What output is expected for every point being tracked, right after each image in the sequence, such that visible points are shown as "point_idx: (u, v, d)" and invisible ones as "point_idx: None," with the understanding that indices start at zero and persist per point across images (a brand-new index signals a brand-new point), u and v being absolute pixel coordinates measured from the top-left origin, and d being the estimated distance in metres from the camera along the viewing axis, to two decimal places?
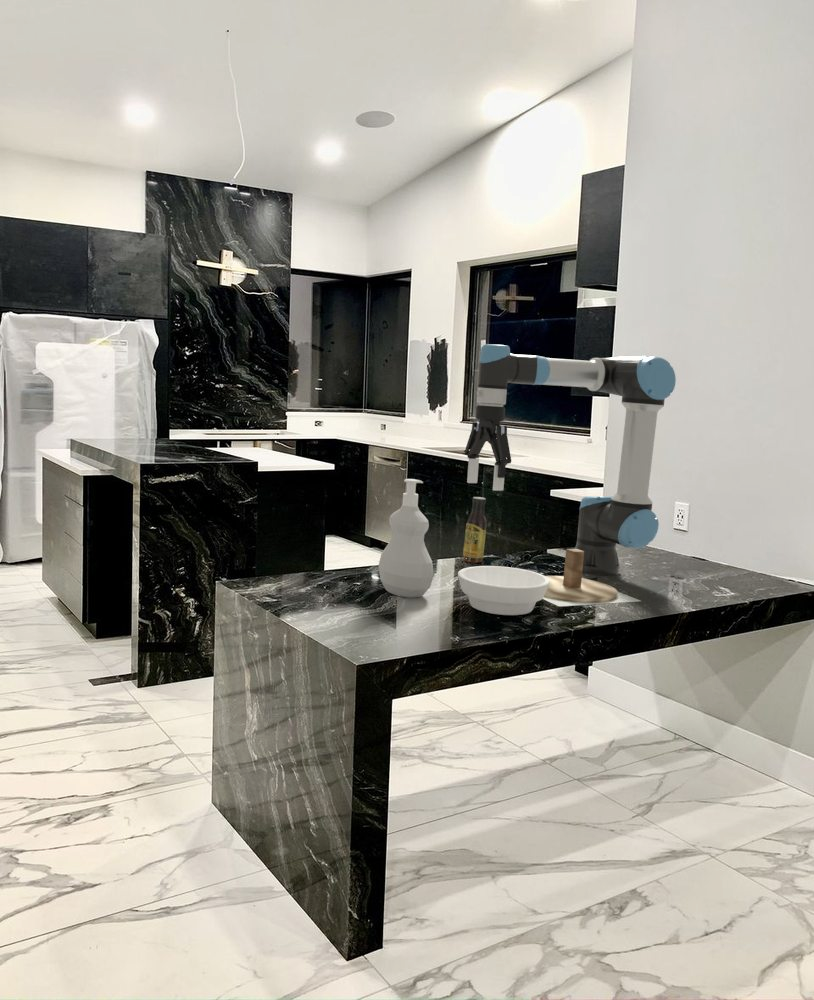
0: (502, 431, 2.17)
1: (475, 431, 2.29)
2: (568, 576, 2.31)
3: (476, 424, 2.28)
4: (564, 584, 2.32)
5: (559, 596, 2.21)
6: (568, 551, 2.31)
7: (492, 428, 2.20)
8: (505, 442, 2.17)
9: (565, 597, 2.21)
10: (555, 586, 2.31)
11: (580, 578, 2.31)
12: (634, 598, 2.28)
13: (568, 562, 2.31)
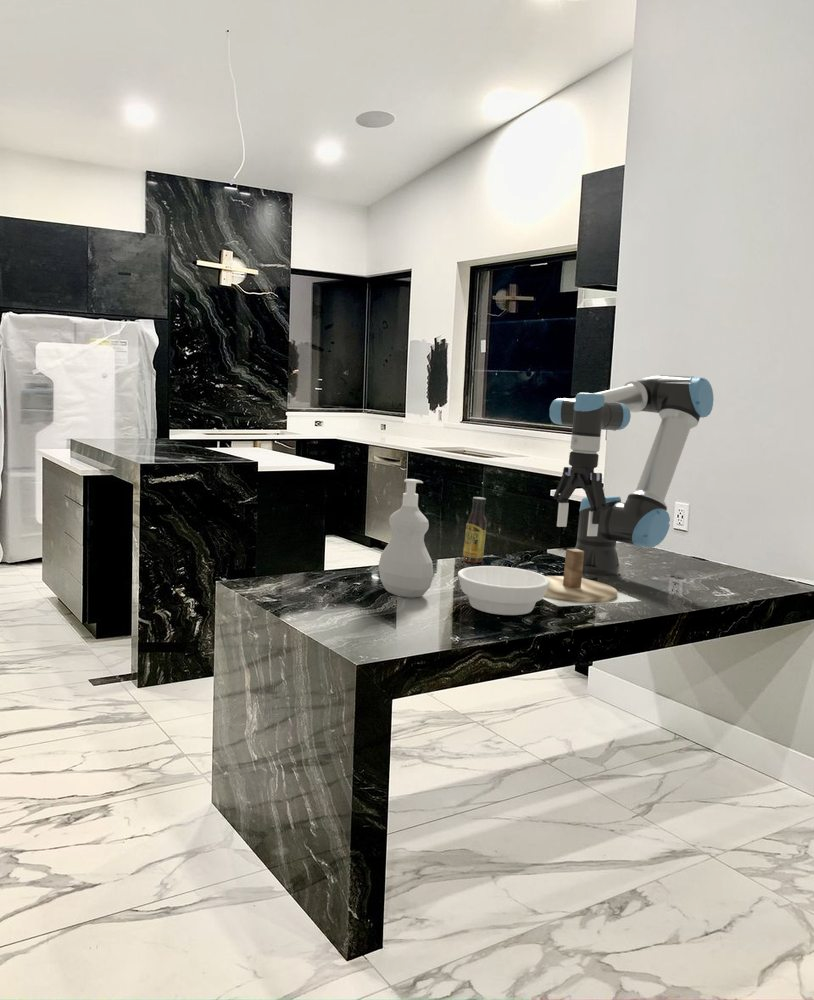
0: (597, 478, 2.22)
1: (566, 476, 2.33)
2: (568, 576, 2.31)
3: (567, 469, 2.32)
4: (564, 584, 2.32)
5: (559, 596, 2.21)
6: (568, 551, 2.31)
7: (586, 475, 2.24)
8: (600, 489, 2.21)
9: (565, 597, 2.21)
10: (555, 586, 2.31)
11: (580, 578, 2.31)
12: (634, 598, 2.28)
13: (568, 562, 2.31)
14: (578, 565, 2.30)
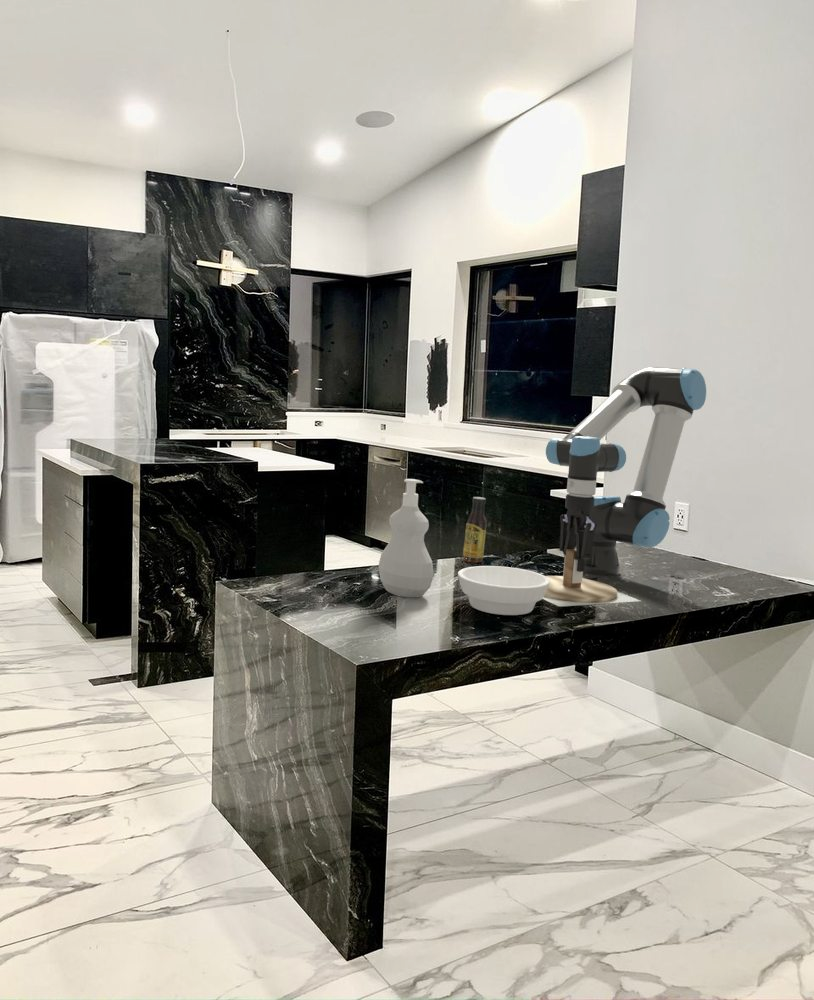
0: (591, 529, 2.24)
1: (565, 523, 2.34)
2: (568, 576, 2.31)
3: (564, 516, 2.34)
4: (564, 584, 2.32)
5: (559, 596, 2.21)
6: (568, 551, 2.31)
7: (582, 519, 2.26)
8: (590, 539, 2.25)
9: (565, 597, 2.21)
10: (555, 586, 2.31)
11: None
12: (634, 598, 2.28)
13: (568, 562, 2.31)
14: None
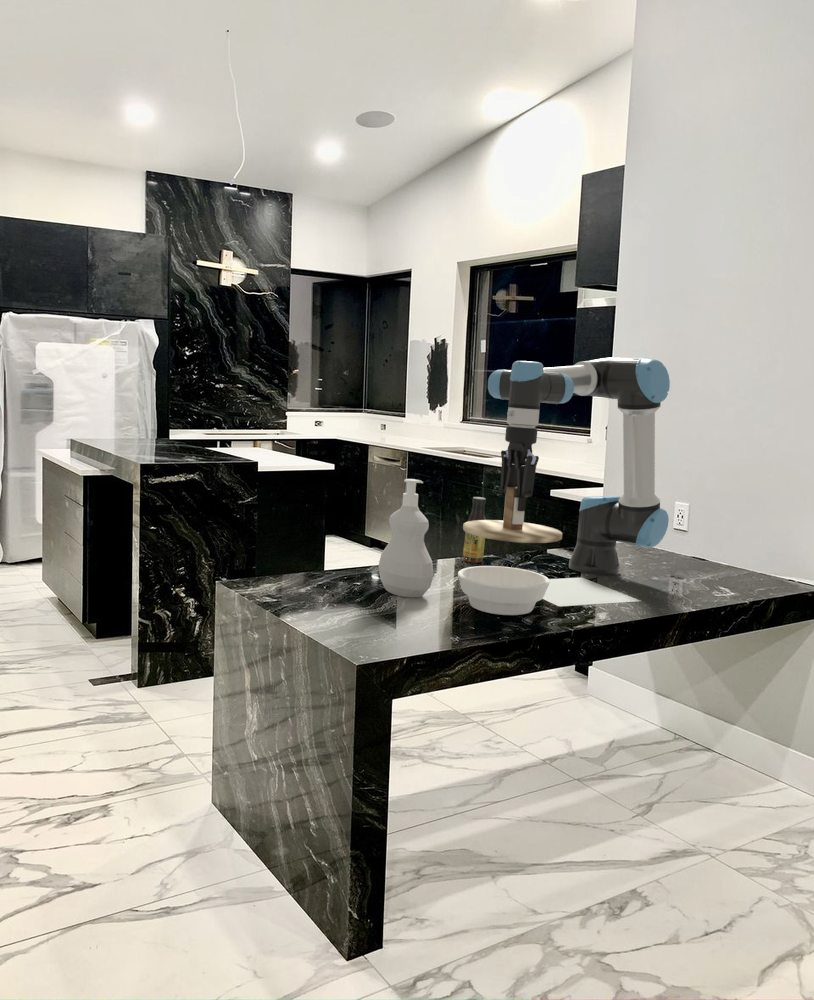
0: (532, 462, 2.02)
1: (506, 459, 2.12)
2: (508, 517, 2.09)
3: (505, 452, 2.12)
4: (504, 526, 2.10)
5: (495, 535, 1.99)
6: (508, 489, 2.09)
7: (523, 452, 2.04)
8: (532, 474, 2.03)
9: (502, 536, 1.99)
10: (494, 527, 2.09)
11: None
12: (634, 598, 2.28)
13: (508, 500, 2.09)
14: None
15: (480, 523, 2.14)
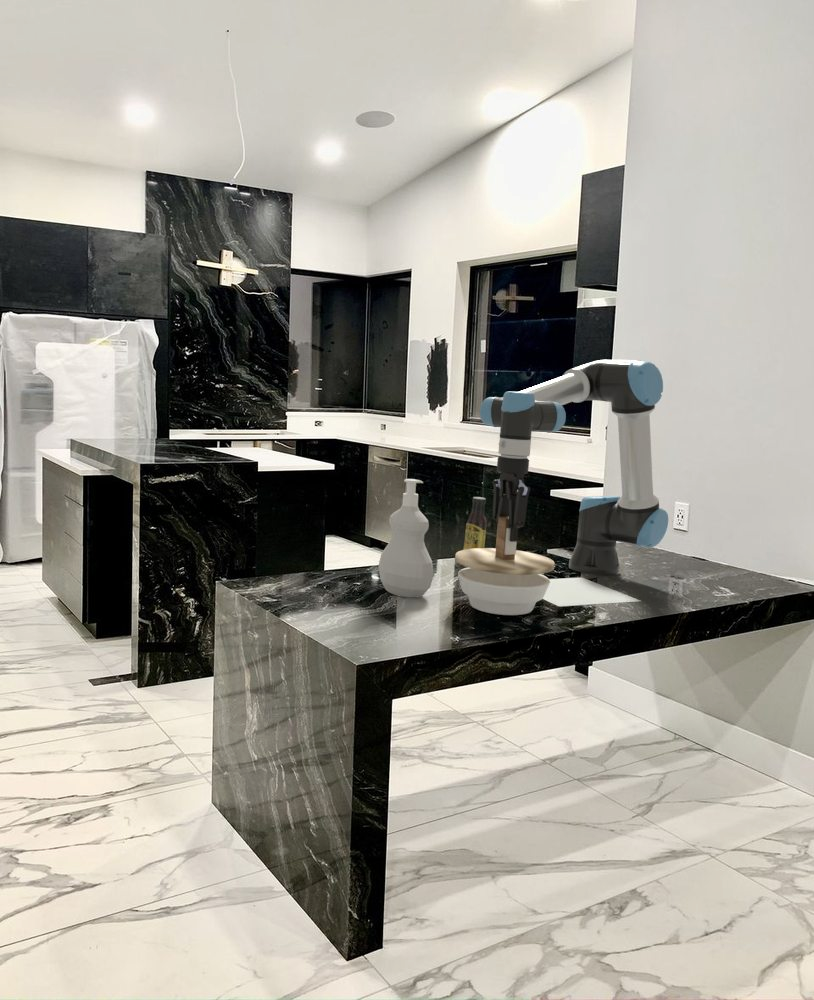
0: (524, 493, 2.02)
1: (498, 488, 2.11)
2: (500, 547, 2.08)
3: (497, 481, 2.12)
4: (496, 555, 2.10)
5: (487, 567, 1.99)
6: (500, 519, 2.08)
7: (515, 483, 2.04)
8: (524, 505, 2.03)
9: (494, 568, 1.98)
10: (486, 557, 2.09)
11: None
12: (634, 598, 2.28)
13: (500, 530, 2.08)
14: None
15: (472, 552, 2.14)
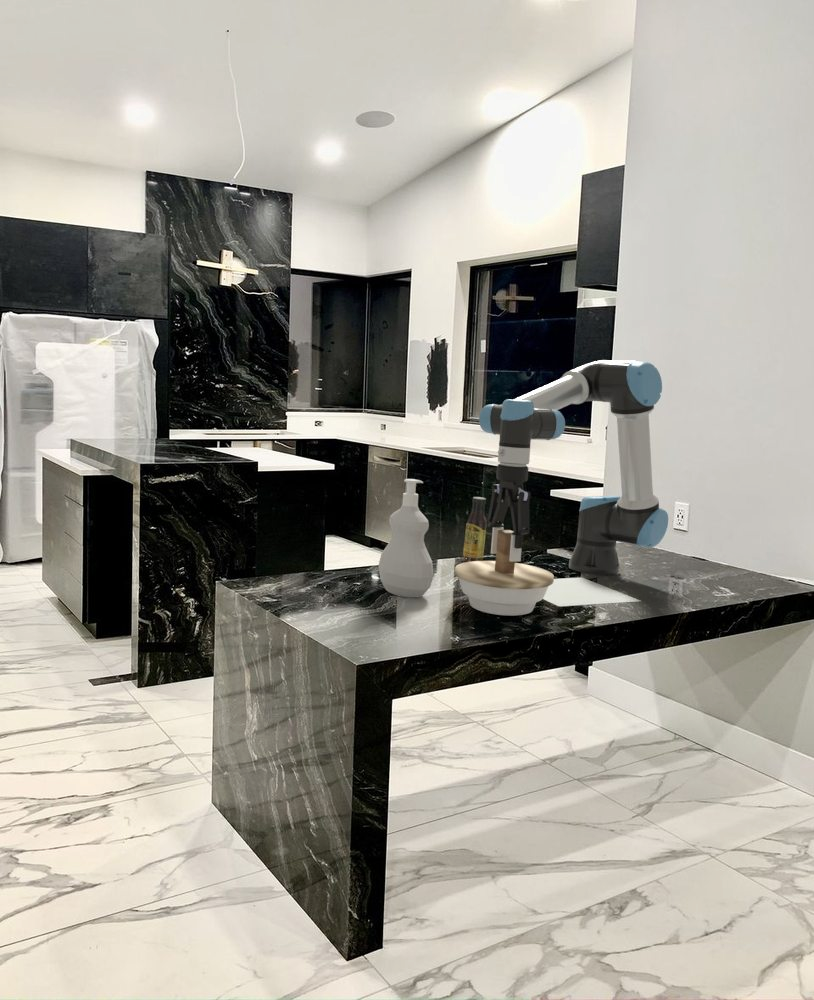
0: (525, 498, 2.02)
1: (496, 494, 2.12)
2: (500, 560, 2.09)
3: (496, 486, 2.12)
4: (496, 569, 2.10)
5: (487, 582, 2.00)
6: (500, 532, 2.09)
7: (514, 490, 2.04)
8: (526, 510, 2.02)
9: (493, 583, 1.99)
10: (485, 571, 2.09)
11: (513, 562, 2.09)
12: (634, 598, 2.28)
13: (499, 544, 2.09)
14: None
15: (472, 566, 2.14)
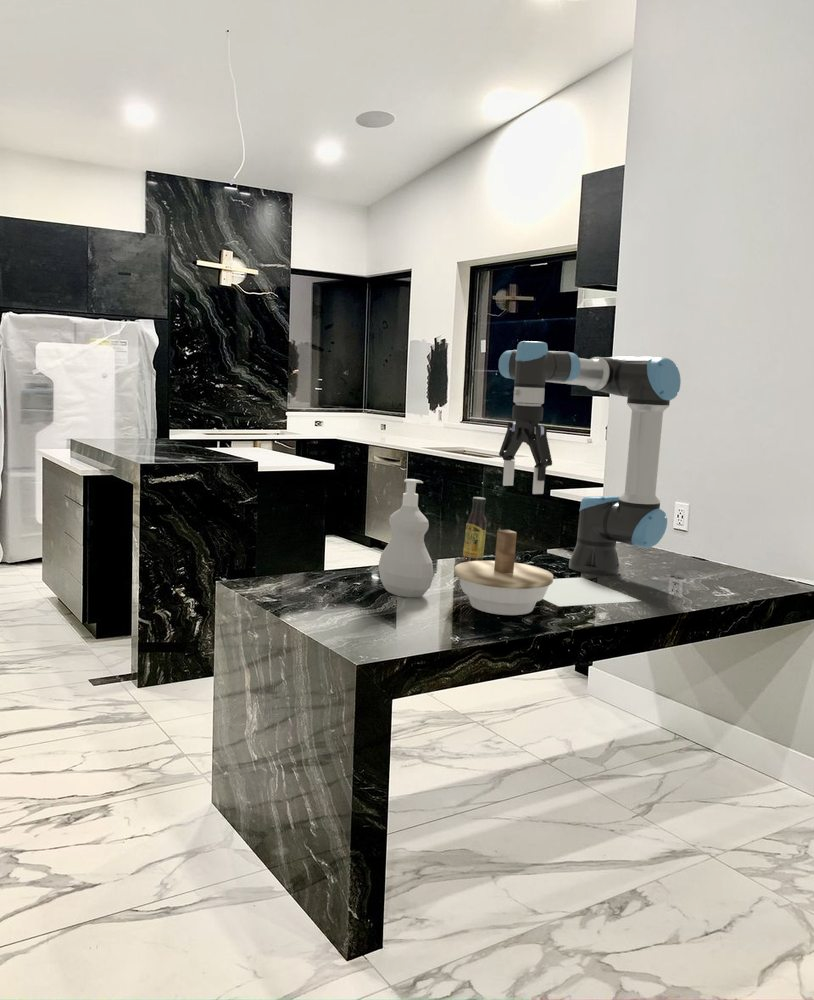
0: (542, 432, 2.08)
1: (511, 432, 2.19)
2: (499, 560, 2.09)
3: (512, 424, 2.19)
4: (495, 569, 2.10)
5: (486, 581, 2.00)
6: (499, 532, 2.09)
7: (531, 429, 2.11)
8: (545, 443, 2.08)
9: (493, 582, 1.99)
10: (485, 571, 2.09)
11: (512, 562, 2.09)
12: (634, 598, 2.28)
13: (499, 544, 2.09)
14: (510, 548, 2.08)
15: (471, 565, 2.14)
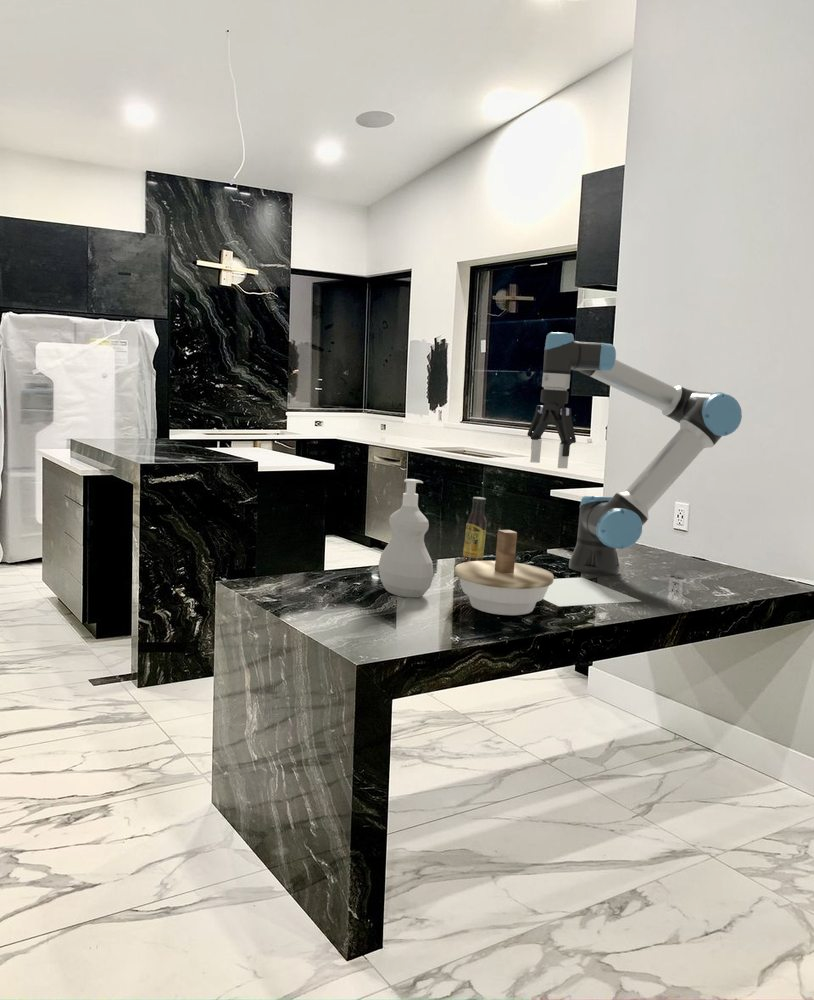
0: (567, 413, 2.34)
1: (539, 414, 2.45)
2: (499, 560, 2.09)
3: (540, 407, 2.44)
4: (496, 569, 2.11)
5: (486, 581, 2.00)
6: (500, 532, 2.09)
7: (557, 410, 2.36)
8: (570, 423, 2.33)
9: (493, 582, 1.99)
10: (485, 571, 2.09)
11: (513, 562, 2.09)
12: (634, 598, 2.28)
13: (499, 544, 2.09)
14: (510, 548, 2.08)
15: (472, 565, 2.14)
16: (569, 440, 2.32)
